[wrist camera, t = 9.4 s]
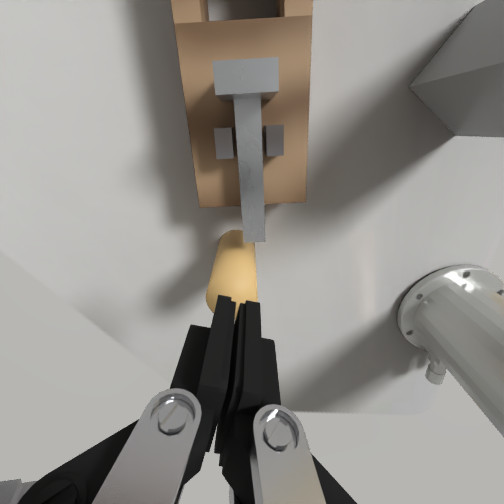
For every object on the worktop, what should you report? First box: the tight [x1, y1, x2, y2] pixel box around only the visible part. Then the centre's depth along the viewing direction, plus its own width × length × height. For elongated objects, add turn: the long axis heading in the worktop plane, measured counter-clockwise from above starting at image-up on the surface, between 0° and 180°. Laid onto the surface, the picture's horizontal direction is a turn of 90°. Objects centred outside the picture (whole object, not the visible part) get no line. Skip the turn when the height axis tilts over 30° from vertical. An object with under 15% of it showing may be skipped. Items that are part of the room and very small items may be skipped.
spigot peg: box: [206, 230, 258, 319], centre depth 25 cm, size 4×4×10 cm
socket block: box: [171, 0, 313, 208], centre depth 19 cm, size 20×9×7 cm, turn 3°
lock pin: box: [212, 57, 279, 243], centre depth 19 cm, size 12×4×4 cm, turn 3°
